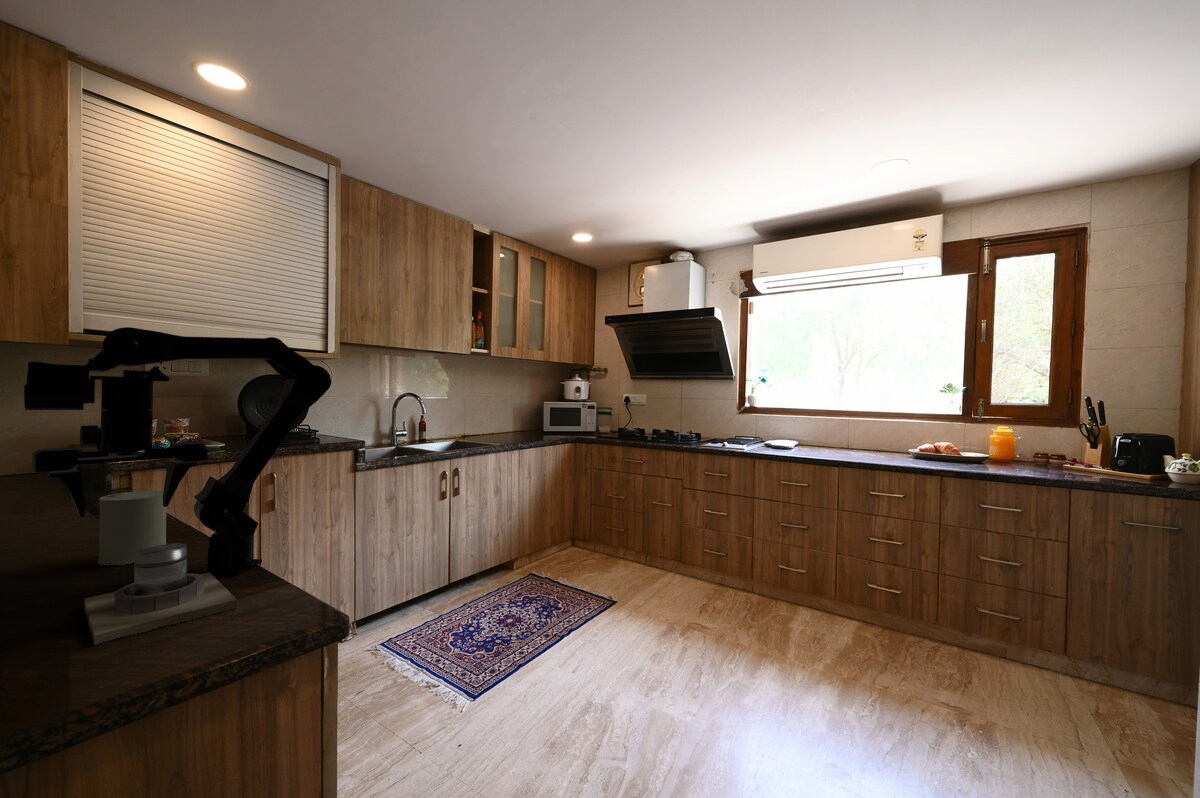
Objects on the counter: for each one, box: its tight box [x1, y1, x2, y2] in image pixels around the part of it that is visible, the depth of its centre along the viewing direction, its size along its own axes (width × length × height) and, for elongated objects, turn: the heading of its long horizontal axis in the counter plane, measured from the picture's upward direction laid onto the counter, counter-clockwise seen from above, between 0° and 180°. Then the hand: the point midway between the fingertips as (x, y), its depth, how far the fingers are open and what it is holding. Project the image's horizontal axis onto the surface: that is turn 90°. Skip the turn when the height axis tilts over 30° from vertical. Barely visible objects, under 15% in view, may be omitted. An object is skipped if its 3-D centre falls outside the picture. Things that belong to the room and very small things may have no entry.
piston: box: [133, 542, 188, 596], centre depth 68 cm, size 6×6×7 cm
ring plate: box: [83, 572, 238, 646], centre depth 68 cm, size 16×14×3 cm
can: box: [97, 490, 167, 567], centre depth 89 cm, size 9×9×12 cm
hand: (125, 511), depth 75 cm, fingers open, 9 cm apart
